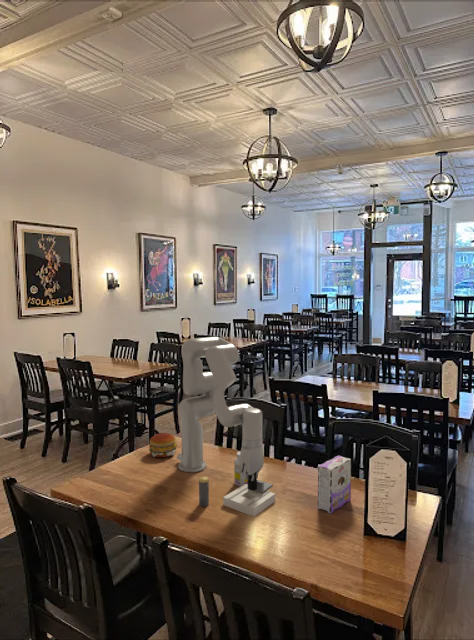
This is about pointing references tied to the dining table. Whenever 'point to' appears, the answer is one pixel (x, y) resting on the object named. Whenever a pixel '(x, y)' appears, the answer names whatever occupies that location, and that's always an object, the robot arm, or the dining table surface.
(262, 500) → the socket
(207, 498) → the plug
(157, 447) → the burger
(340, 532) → the dining table surface
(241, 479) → the supplement bottle
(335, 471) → the candy box
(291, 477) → the dining table surface
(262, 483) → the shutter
